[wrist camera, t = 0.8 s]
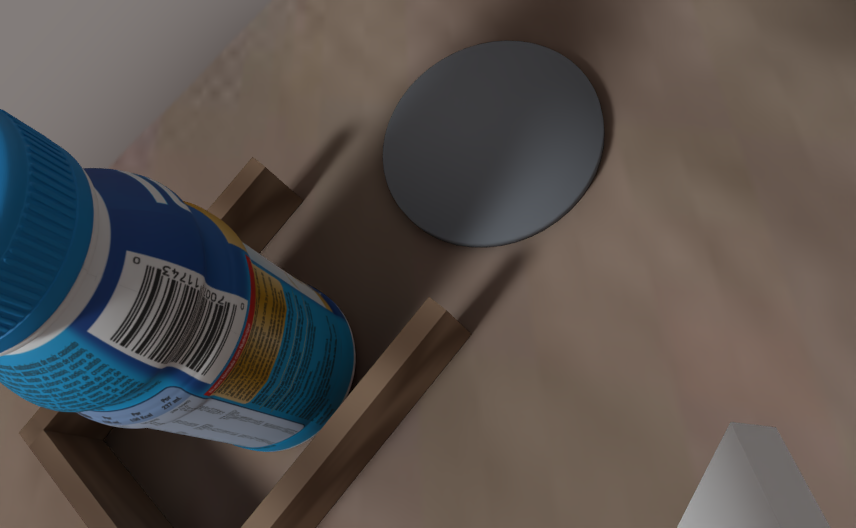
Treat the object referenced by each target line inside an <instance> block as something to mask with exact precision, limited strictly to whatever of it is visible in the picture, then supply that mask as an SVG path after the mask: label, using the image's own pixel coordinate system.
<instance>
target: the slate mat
mask: <svg viewBox="0 0 856 528" xmlns="http://www.w3.org/2000/svg"><path fill="white" fill-rule="evenodd" d="M603 147H604V121H603V115H602V111H601V107H600V103H599V99H598V97H597V95H596V92H595V90H594V88H593V86H592V85H591V83H590V81H589V80H588V78H587V77H586V76H585V74H584V73H583V72H582V71H581V70H580V69H579V68H578V67H577V66H576V65H575V64H574V63H573V62H571V61H570V60H569V59H568V58H566V57H564V56H563V55H561V54H560V53H558V52H556V51H554V50H551V49H549V48H547V47H544V46H540V45H537V44H534V43H528V42H522V41H496V42H489V43H483V44H478V45H475V46H472V47H468V48H465V49H463V50H461V51H458V52H456V53H453V54H451V55H450V56H448V57H446V58H444V59H442V60H441V61H439V62H438V63H436V64H435V65H433V66H432V67H431V68H429V69H428V70H427V71H426V72H424V73H423V74H422V75H421V76H420V77H419V78H418V79H417V80H416V81H415V82H414V83H413V84H412V85H411V86H410V87H409V89H408V90H407V91H406V93H405V94H404V95H403V97H402V98H401V99H400V101H399V103H398V105H397V106H396V108H395V110H394V112H393V114H392V116H391V119H390V121H389V124H388V127H387V130H386V134H385V139H384V145H383V166H384V173H385V177H386V181H387V185H388V187H389V189H390V192H391V194H392V196H393V198H394V199H395V201H396V202H397V204H398V206H399V207H400V208H401V209H402V210H403V212H404V213H405V214H406V215H407V216H408V217H409V219H410V220H411V221H412V222H413V223H415V224H416V225H417V226H418V227H419V228H420V229H422V230H423V231H425V232H427V233H428V234H430V235H431V236H433V237H436V238H438V239H440V240H442V241H445V242H448V243H452V244H455V245H460V246H467V247H495V246H502V245H507V244H511V243H515V242H518V241H521V240H524V239H526V238H529V237H532V236H534V235H536V234H537V233H539V232H541V231H543V230H545V229H547V228H548V227H550V226H551V225H553V224H554V223H556V222H557V221H558V220H560V219H561V218H562V217H563V216H564V215H565V214H567V213H568V212H569V211H570V210H571V209H572V208H573V207H574V206H575V204H576V203H577V202H578V201H579V200H580V199H581V197H582V196H583V195H584V193H585V192H586V190H587V189H588V188H589V186H590V184H591V182H592V180H593V178H594V176H595V174H596V172H597V169H598V166H599V164H600V161H601V157H602V152H603Z"/></svg>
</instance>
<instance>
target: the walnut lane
mask: <svg viewBox="0 0 856 528" xmlns="http://www.w3.org/2000/svg"><path fill="white" fill-rule="evenodd" d="M302 201H303V200H302V199H301V198H300V197H299V196H298V195H296V194H295V193H294V192H293V191H292V190H291V189H290V188H288V187H287V186H286V185H285V184H284V183H283V182H282V181H281V180H279V179H278V178H277V177H276V176H275V175H274V174H273V173H272V172H270V171H269V170H268V169H267V168H266V167H265V166H263V165H262V164H261V163H260V162H258V161H257V160H256V159H255V158H253V157H252V158H251V159H250V161H249V162H248V163H247V164H246V165H245V167H244V168H243V169H242V170H241V171H240V172H239V174H238V175H237V176H236V177H235V178H234V180H233V181H232V182H231V183H230V184H229V185H228V187H227V188H226V189H225V190H224V191H223V192H222V194H221V195H220V196H219V197H218V198H217V200H216V201H215V202H214V203H213V204H212V205H211V207H210V208H209V209H208V210H207V211H208V212H210V213H212V214H213V215H215V216H216V217H218V218H219V219H221V220H222V221H223V222H225V223H226V224H227V225H228V226H229V227H230V228H231V229H232V230H233V231H234V232H235V233H236V234H237V236H238V237H239V238H240V240H241V241H242V242H243V243H244V244H246V245H247V246H249V247H250V248H252V249H253V250H255V251H256V252H257V253H260V252H261V250H262V249H263V248H264V247H265V246H266V244H267V243H268V242H269V241H270V240H271V238H272V237H273V236H274V235H275V234H276V232H277V231H278V230H279V229H280V228H281V227H282V225H283V224H284V223H285V222H286V221H287V219H288V218H289V217H290V216H291V215H292V213H293V212H294V211H295V210H296V209H297V207H298V206H299V205H300V204H301V203H302ZM470 335H471V333H470V332H469V331H468V330H466V329H465V328H464V327H463V326H462V325H461V324H460V323H459V322H458V321H457V320H456V319H455V318H454V317H453V316H452V315H451V314H450V313H449V312H448V311H447V310H445V309H444V308H443V307H441V306H440V305H439V304H438V303H436V302H435V301H434V300H433V299H431V298H430V297H428V299H427V300H426V301H425V302H424V303H423V305H422V306H421V307H420V308H419V310H418V311H417V312H416V313H415V314H414V316H413V317H412V318H411V319H410V321H409V322H408V323H407V324H406V326H405V327H404V328H403V329H402V330H401V332H400V333H399V334H398V335H397V337H396V338H395V339H394V340H393V341H392V343H391V344H390V345H389V346H388V348H387V349H386V350H385V351H384V353H383V354H382V355H381V356H380V357H379V359H378V360H377V361H376V362H375V364H374V365H373V366H372V367H371V368H370V370H369V371H368V372H367V373H366V375H365V376H364V377H363V378H362V380H361V381H360V382H359V383H358V384H357V386H356V387H355V388H354V389H353V391H352V392H351V393H350V394H349V395H348V397H347V398H346V399H345V400H344V402H343V403H342V404H341V405H340V407H339V408H338V409H337V410H336V411H335V413H334V414H333V415H332V416H331V418H330V419H329V420H328V421H327V422H326V424H325V425H324V426H323V427H322V429H321V430H320V431H319V432H318V434H317V435H316V436H315V437H314V438H313V440H312V441H311V442H310V443H309V445H308V446H307V447H306V448H305V449H304V451H303V452H302V453H301V454H300V456H299V457H298V458H297V459H296V461H295V462H294V463H293V464H292V465H291V467H290V468H289V469H288V470H287V472H286V473H285V474H284V475H283V476H282V478H281V479H280V480H279V481H278V483H277V484H276V485H275V486H274V488H273V489H272V490H271V491H270V492H269V494H268V495H267V496H266V497H265V499H264V500H263V501H262V502H261V503H260V505H259V506H258V507H257V508H256V510H255V511H254V512H253V513H252V515H251V516H250V517H249V518H248V519H247V521H246V522H245V523H244V524H243V526H242V527H241V528H315V527H316V526H317V525H318V524H319V523H320V521H321V520H322V519H323V518H324V516H325V515H326V514H327V513H328V511H329V510H330V509H331V508H332V506H333V505H334V504H335V503H336V501H337V500H338V499H339V498H340V496H341V495H342V494H343V493H344V492H345V490H346V489H347V488H348V487H349V485H350V484H351V483H352V482H353V480H354V479H355V478H356V477H357V475H358V474H359V473H360V472H361V470H362V469H363V468H364V467H365V466H366V464H367V463H368V462H369V461H370V459H371V458H372V457H373V456H374V454H375V453H376V452H377V451H378V449H379V448H380V447H381V446H382V444H383V443H384V442H385V441H386V439H387V438H388V437H389V436H390V435H391V433H392V432H393V431H394V430H395V428H396V427H397V426H398V425H399V423H400V422H401V421H402V420H403V418H404V417H405V416H406V415H407V413H408V412H409V411H410V410H411V408H412V407H413V406H414V405H415V404H416V402H417V401H418V400H419V399H420V397H421V396H422V395H423V394H424V392H425V391H426V390H427V389H428V387H429V386H430V385H431V384H432V382H433V381H434V380H435V379H436V377H437V376H438V375H439V374H440V373H441V371H442V370H443V369H444V368H445V366H446V365H447V364H448V363H449V361H450V360H451V359H452V358H453V356H454V355H455V354H456V353H457V351H458V350H459V349H460V348H461V346H462V345H463V344H464V343H465V342H466V340H467V339H468V338H469V337H470ZM113 427H114V426H110V425H106V424H102V423H99V422H96V421H93V420H90V419H88V418H86V417H84V416H82V415H80V414H78V413H76V412H61V411H55V410H50V409H46V408H43V407H40V408H39V410H38V411H37V412H36V413H35V414H34V415H33V417H32V418H31V419H30V420H29V421H28V423H27V424H26V425H25V426H24V427H23V428H22V430H21V431H20V432H19V434H20V435H21V437H22V438H23V440H24V441H25V442H26V444H27V445H28V446H29V448H30V449H31V450H32V452H33V453H34V455H35V456H36V457H37V459H38V460H39V461H40V463H41V464H42V465H43V467H44V468H45V470H46V471H47V472H48V474H49V475H50V476H51V478H52V479H53V480H54V482H55V483H56V485H57V486H58V487H59V489H60V490H61V491H62V493H63V494H64V495H65V497H66V498H67V500H68V501H69V502H70V504H71V505H72V506H73V508H74V509H75V510H76V512H77V513H78V515H79V516H80V517H81V519H82V520H83V521H84V523H85V524H86V525H87V527H88V528H173V527H172V525H171V524H170V523H169V522H168V521H167V519H166V518H165V517H164V516H163V514H162V513H161V512H160V511H159V509H158V508H157V507H156V506H155V504H154V503H153V502H152V501H151V499H150V498H149V497H148V496H147V494H146V493H145V492H144V491H143V489H142V488H141V487H140V486H139V484H138V483H137V482H136V481H135V479H134V478H133V477H132V476H131V475H130V473H129V472H128V471H127V470H126V468H125V467H124V466H123V465H122V463H121V462H120V461H119V460H118V458H117V457H116V456H115V455H114V453H113V452H112V451H111V450H110V448H109V447H108V446H107V445H106V443H105V442H104V441H103V439H104V438H105V437H106V435H107V434H108V433H109V432H110V431H111V429H112V428H113Z"/></svg>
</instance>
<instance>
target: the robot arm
mask: <svg viewBox="0 0 856 528" xmlns="http://www.w3.org/2000/svg"><path fill="white" fill-rule="evenodd" d="M677 528H830V526H829V524H828V522H827V520H826V518H825V517H824V515H823V513H822V511H821V509H820V507H819V506H818V504H817V502H816V500H815V498H814V496H813V495H812V493H811V491H810V489H809V487H808V485H807V484H806V482H805V480H804V478H803V476H802V474H801V473H800V471H799V469H798V467H797V465H796V463H795V462H794V460H793V458H792V456H791V454H790V452H789V450H788V449H787V447H786V445H785V443H784V441H783V439H782V438H781V436H780V434H779V432H778V430H777V428H776V427H769V426H761V425H752V424H744V423H735V422H730V424H729V426H728V428H727V430H726V432H725V434H724V436H723V438H722V440H721V442H720V444H719V446H718V448H717V450H716V452H715V454H714V456H713V458H712V460H711V462H710V464H709V466H708V468H707V470H706V472H705V474H704V475H703V477H702V479H701V481H700V483H699V485H698V487H697V489H696V491H695V493H694V495H693V497H692V499H691V501H690V503H689V505H688V507H687V509H686V511H685V513H684V515H683V517H682V519H681V521H680V523H679V525H678V527H677Z"/></svg>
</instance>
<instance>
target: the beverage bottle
mask: <svg viewBox="0 0 856 528" xmlns="http://www.w3.org/2000/svg"><path fill="white" fill-rule="evenodd" d="M355 363H356V352H355V343H354V338H353V334H352V331H351V328H350V326H349V323H348V321H347V319H346V317H345V316H344V314H343V313H342V311H341V310H340V309H339V307H338V306H337V305H336V304H335V303H334V302H333V301H332V300H331V299H330V298H329V297H327V296H326V295H324V294H323V293H322V292H320V291H319V290H317V289H315V288H314V287H312V286H310V285H308V284H305V283H304V282H302V281H300V280H298V279H296V278H295V277H293V276H291V275H290V274H288V273H287V272H285V271H284V270H282V269H281V268H279V267H278V266H276V265H275V264H274V263H272V262H271V261H269V260H268V259H266V258H265V257H263V256H262V255H260V254H259V253H257V252H256V251H255V250H253V249H252V248H250V247H249V246H247V245H246V244H244V243H243V242H242V241H241V240H240V238H239V237H238V236H237V234H236V233H235V232H234V231H233V230H232V229H231V228H230V227H229V226H228V225H227V224H226V223H225V222H223V221H222V220H221V219H219V218H218V217H216V216H215V215H213V214H212V213H210V212H208V211H206V210H204V209H203V208H201V207H198V206H196V205H194V204H191V203H189V202H185V201H182V200H181V199H180V198H179V197H178V196H177V195H176V194H175V193H174V192H173V191H171V190H170V189H169V188H167V187H166V186H164V185H162V184H161V183H159V182H157V181H155V180H152V179H150V178H147V177H144V176H141V175H138V174H134V173H130V172H125V171H120V170H113V169H102V168H85V169H84V168H82V167H81V166H80V165H79V163H78V162H77V161H76V160H75V159H74V158H73V157H72V156H71V155H70V154H69V153H68V152H67V151H66V150H64V149H63V148H61V147H60V146H58V145H57V144H55V143H54V142H52V141H51V140H49V139H48V138H46V137H45V136H44V135H42V134H40V133H39V132H37V131H36V130H34V129H33V128H31V127H29V126H27V125H26V124H24V123H23V122H21V121H20V120H18V119H17V118H15V117H13V116H12V115H10V114H9V113H7V112H5V111H4V110H1V109H0V382H1V383H2V384H3V385H4V386H6V387H7V388H8V389H10V390H11V391H13V392H14V393H16V394H17V395H19V396H20V397H22V398H23V399H25V400H27V401H29V402H31V403H33V404H35V405H38V406H40V407H43V408H46V409H50V410H55V411H61V412H76V413H78V414H80V415H82V416H84V417H86V418H88V419H90V420H93V421H96V422H99V423H102V424H106V425H110V426H114V427H120V428H151V429H156V430H161V431H166V432H172V433H177V434H182V435H187V436H193V437H198V438H203V439H208V440H214V441H219V442H224V443H229V444H233V445H235V446H238V447H241V448H245V449H250V450H255V451H262V452H274V451H282V450H286V449H290V448H293V447H296V446H298V445H301V444H303V443H305V442H306V441H308V440H310V439H311V438H313V437H314V436H316V435H317V434H318V432H319V431H320V430H321V429H322V427H323V426H324V425H325V424H326V422H327V421H328V420H329V419H330V418H331V416H332V415H333V414H334V413H335V411H336V410H337V409H338V408H339V407H340V405H341V404H342V403H343V402H344V400H345V399H346V398H347V396H348V393H349V391H350V388H351V385H352V381H353V377H354V372H355Z"/></svg>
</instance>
